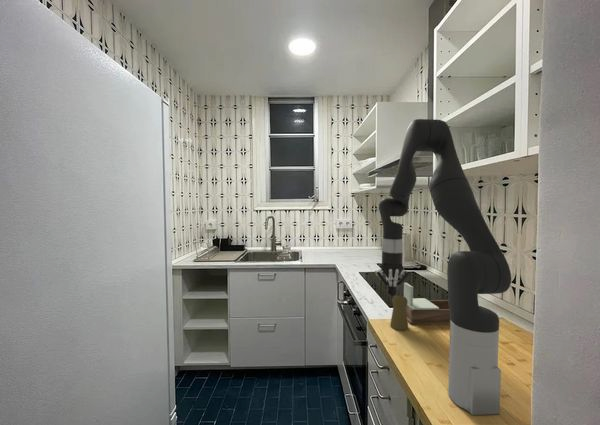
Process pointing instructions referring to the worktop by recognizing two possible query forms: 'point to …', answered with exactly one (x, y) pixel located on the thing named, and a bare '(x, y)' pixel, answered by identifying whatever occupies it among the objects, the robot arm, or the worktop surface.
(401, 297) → the olive rounded piece
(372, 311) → the worktop surface
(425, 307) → the lid
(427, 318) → the caddy
